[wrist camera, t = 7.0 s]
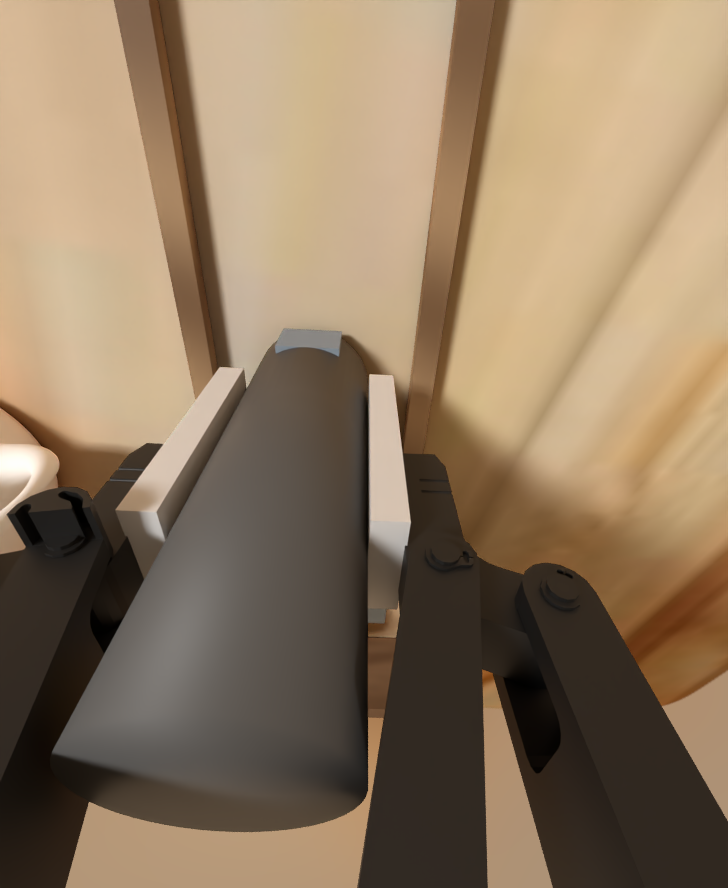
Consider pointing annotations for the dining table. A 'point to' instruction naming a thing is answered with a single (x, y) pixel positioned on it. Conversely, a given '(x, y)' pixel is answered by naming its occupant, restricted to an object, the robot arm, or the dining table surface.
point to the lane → (176, 217)
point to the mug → (21, 474)
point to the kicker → (248, 622)
